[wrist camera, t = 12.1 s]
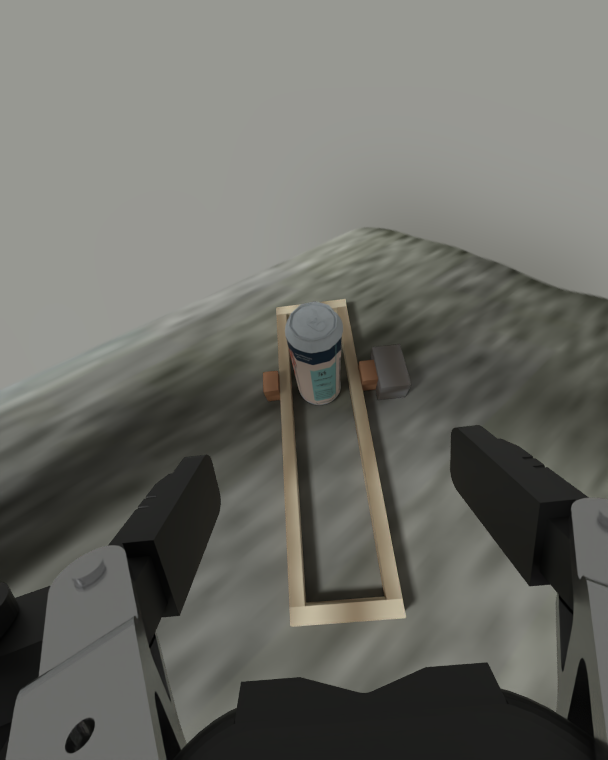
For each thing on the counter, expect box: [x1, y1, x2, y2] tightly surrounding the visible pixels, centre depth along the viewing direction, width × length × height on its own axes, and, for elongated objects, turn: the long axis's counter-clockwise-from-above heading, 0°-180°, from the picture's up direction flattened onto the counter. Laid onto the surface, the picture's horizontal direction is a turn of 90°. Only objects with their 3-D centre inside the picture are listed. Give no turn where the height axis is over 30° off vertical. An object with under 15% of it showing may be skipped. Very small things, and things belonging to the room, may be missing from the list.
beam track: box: [263, 299, 411, 627], centre depth 30 cm, size 15×32×3 cm, turn 4°
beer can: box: [285, 301, 343, 405], centre depth 29 cm, size 5×5×12 cm
